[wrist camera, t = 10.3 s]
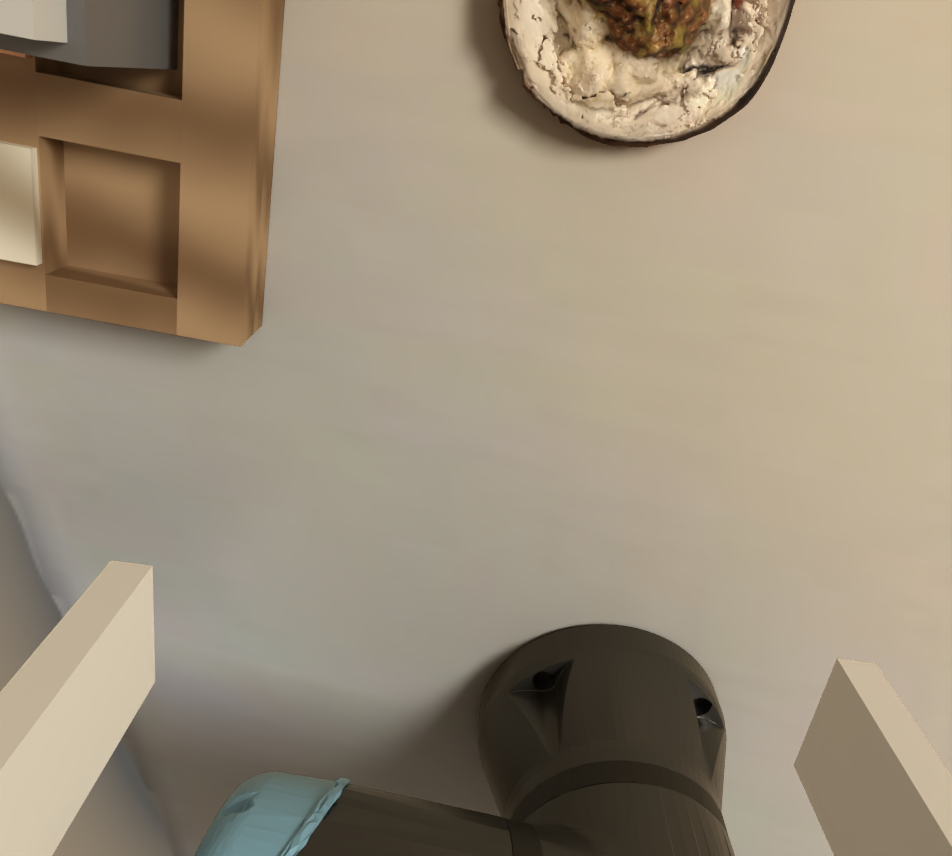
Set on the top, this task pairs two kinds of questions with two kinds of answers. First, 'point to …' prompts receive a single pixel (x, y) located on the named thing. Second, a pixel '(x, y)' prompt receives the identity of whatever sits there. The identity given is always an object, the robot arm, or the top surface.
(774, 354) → the top surface
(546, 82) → the bagel
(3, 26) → the plug
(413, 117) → the top surface
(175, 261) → the socket board
